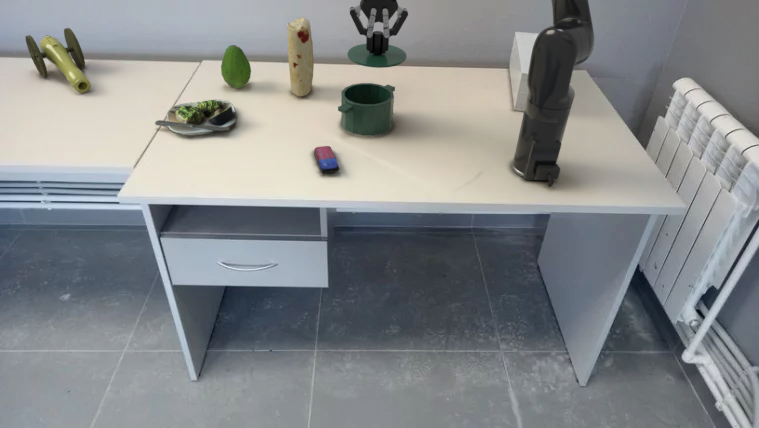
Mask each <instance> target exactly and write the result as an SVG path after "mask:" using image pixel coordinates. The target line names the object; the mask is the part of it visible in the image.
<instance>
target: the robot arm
mask: <svg viewBox="0 0 759 428" xmlns="http://www.w3.org/2000/svg"><path fill="white" fill-rule="evenodd" d="M550 1H551V8H552V25H549V26H547V27H546V28H543V29H542V30H541V31H540V32H539V33H538V34H539V35H538V36H537V38H536V40H535V42H534V45H533V49H532V54H531V59H530V65H529V71H528V78H527V86H528V96H527V101H526V105H525V110H524V111H523V115H522V119H521V120H522V121H521V124H520V127H519V132H518V136H517V143H516V146H515V152H514V155H513V159H512V162H511V169H512V170H513V172H515V174H517V175H518V176H520V177H522V178H523V179H524V180H525V181H548V185H547V186H548V187H549V188H551V187H553V185H554V181H558V179H559V176H560V173H561V167H560V166H559V165H558V163H557V162H558V159H559V155H560V151H561V148H562V142H563V138H564V135H565V131H566V128H567V124H568V121H569V117H570V113H571V110H572V106H573V103H574V99H575V94H576V92H575V89H574V88H573V86H571V82H572V81H571V80H572V76H573V72H574V69H575V67H577V66H579V65H581V64H584V62H586V61H587V60H588V59H589V58H590V57H591V55H592V53H593V51H594V48H595V30H594V24H593V20H592V14H591V8H590V2H589V0H550ZM361 12H362V13H363V14H364V16H365V17H366V19H367V24H366V25H367V26H366V27H364V25H363V23H362V21H361V18H360V16H361ZM395 13H396V17H397V18H396V20H395V22H394V24H392V26H391V27H390V20H391V19H392V17H393V16H394V15H395ZM349 15H350V17H351V19H352V21H353V23H354V26H355V27H356V30H357V32H358V34H359V35H360V36H365V40H366V43H365V44H366V49H367V51H369V53H372V49H373V32H374V29H375V24H376V23H381V24H382V30H383V31H382V32H383V45H382V54H385V51H388V46H389V45H390V38H391V37H393V36H394V37H395V36H397V35H398V33H400V30H401V29H402V27H403V24H405V21H406V20H407V18H408V16H409V12H408V9H407V8H406V7H405V8H403V7H401V6H400V5H399V3H398V0H360V2H359V4H358V5H356V6H350V8H349Z"/></svg>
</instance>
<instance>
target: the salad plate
mask: <svg viewBox="0 0 759 428" xmlns="http://www.w3.org/2000/svg"><path fill="white" fill-rule="evenodd" d="M237 122H238V115H237V111H236V108H235V106H234V104H233V103H232V102H230V101H229V100H225V99H207V100H201V101H194V102H184V103H179V104H176V105H174V106H172V107H170V108H169V109H168V110H167V112H166V120H162V119H161V120H159V119H157V120H155V122H154V125H155V126H159V127H164V128H167V129H169V130H170V131H171V132H173V133H176V134H179V135H182V136H201V135H202V136H203V135H215V134H222V133H226V132H229V131H230V130H232V129H233V128H234V127H235V126H236V124H237Z"/></svg>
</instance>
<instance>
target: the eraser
mask: <svg viewBox="0 0 759 428" xmlns="http://www.w3.org/2000/svg"><path fill="white" fill-rule="evenodd" d="M313 154H314V157H315V160H316V163H317V166H318V168H319V170H320V172H321V174H322V175H324V174H328V173H333V172H334V173H335V172H338V171H339V170H340V166H339V162H338V161H337V158H336V156H335V154H334V151H333V148H332V147H331V146H330V145H323V146H316V147H315V148H314V150H313Z"/></svg>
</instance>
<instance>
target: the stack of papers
mask: <svg viewBox="0 0 759 428" xmlns="http://www.w3.org/2000/svg"><path fill="white" fill-rule="evenodd" d="M538 35H539V33H536V32H524V31H515V32H514V38H513V43H512V48H511V53H510V58H509V62H508V63H509V65H508V67H509V78H510V85H511V93H512V103H513V110H514V111H516V112H517V111H518V112H524V110H525V105H526V101H527V96H528V86H527V78H528V71H529V65H530V59H531V54H532V49H533V45H534V42H535V40H536V38H537V36H538Z"/></svg>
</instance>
